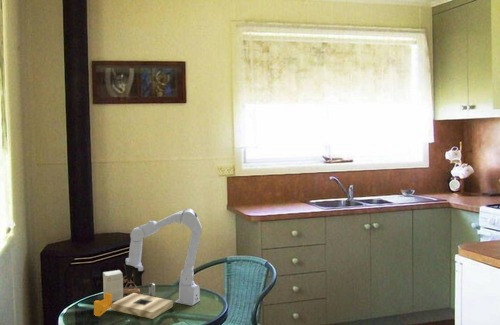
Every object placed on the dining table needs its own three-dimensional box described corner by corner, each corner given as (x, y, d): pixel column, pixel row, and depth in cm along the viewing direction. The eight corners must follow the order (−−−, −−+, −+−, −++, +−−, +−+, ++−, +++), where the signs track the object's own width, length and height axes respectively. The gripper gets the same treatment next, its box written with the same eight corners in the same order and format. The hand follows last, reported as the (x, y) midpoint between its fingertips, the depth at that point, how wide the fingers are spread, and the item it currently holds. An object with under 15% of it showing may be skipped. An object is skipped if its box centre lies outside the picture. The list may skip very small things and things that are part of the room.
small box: (120, 295, 248) (119, 269, 247) (123, 299, 243) (123, 273, 242) (103, 298, 245) (102, 271, 243) (106, 302, 239) (105, 275, 238)
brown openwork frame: (121, 294, 251) (121, 270, 250) (121, 291, 255) (121, 267, 254) (139, 293, 254) (140, 269, 253) (139, 290, 257) (139, 267, 256)
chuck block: (172, 306, 236) (172, 300, 236) (152, 318, 222) (152, 312, 222) (133, 298, 245) (133, 292, 245) (111, 309, 231) (111, 303, 230)
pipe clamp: (102, 305, 236) (103, 292, 235) (111, 306, 235) (111, 293, 234) (90, 315, 224) (90, 301, 223) (99, 316, 223) (99, 302, 223)
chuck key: (157, 296, 249) (157, 282, 248) (151, 300, 244) (151, 285, 243) (152, 295, 250) (152, 281, 249) (145, 299, 245) (146, 284, 244)
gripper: (120, 249, 243) (118, 277, 244) (134, 258, 232) (131, 287, 233) (134, 248, 247) (131, 275, 248) (148, 256, 236) (145, 285, 237)
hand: (132, 281), depth 241 cm, fingers open, 7 cm apart
